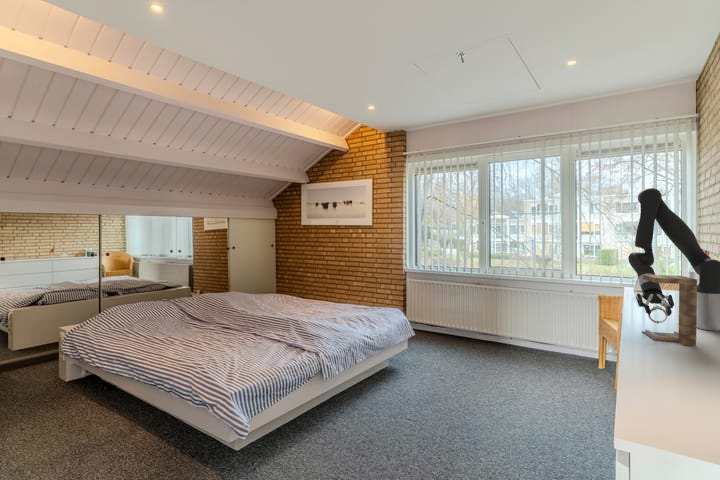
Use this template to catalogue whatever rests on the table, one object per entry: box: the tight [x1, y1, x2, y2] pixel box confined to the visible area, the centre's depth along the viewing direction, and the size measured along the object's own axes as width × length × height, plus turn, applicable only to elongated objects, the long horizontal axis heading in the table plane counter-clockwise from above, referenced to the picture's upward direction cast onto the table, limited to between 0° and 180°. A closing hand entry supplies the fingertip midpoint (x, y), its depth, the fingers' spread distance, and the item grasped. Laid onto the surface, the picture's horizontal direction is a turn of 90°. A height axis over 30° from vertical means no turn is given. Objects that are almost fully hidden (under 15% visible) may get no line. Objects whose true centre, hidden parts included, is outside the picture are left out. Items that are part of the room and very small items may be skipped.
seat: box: [641, 328, 679, 343], centre depth 170 cm, size 14×14×2 cm
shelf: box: [643, 274, 698, 347], centre depth 165 cm, size 14×14×27 cm
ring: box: [647, 305, 669, 324], centre depth 178 cm, size 7×3×8 cm, turn 49°
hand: (659, 314), depth 177 cm, fingers closed on ring, 7 cm apart
